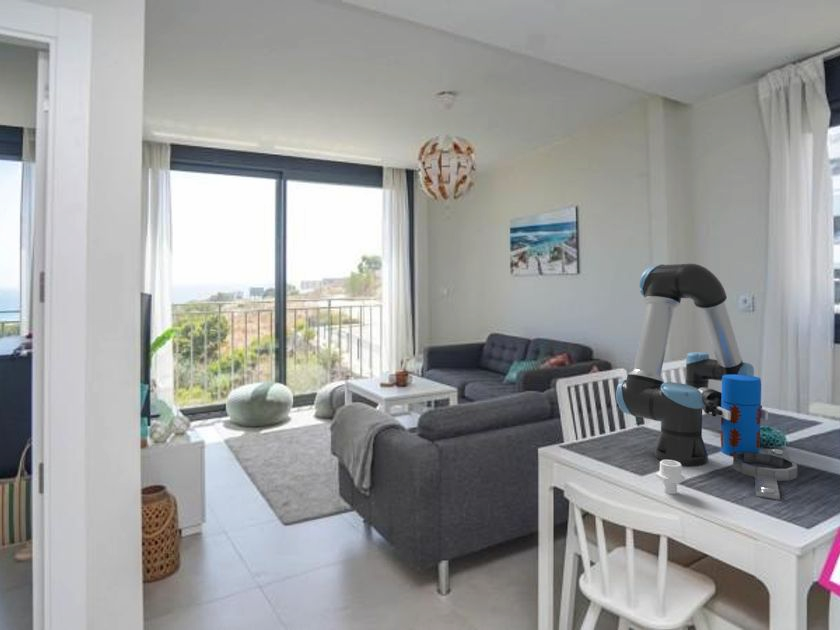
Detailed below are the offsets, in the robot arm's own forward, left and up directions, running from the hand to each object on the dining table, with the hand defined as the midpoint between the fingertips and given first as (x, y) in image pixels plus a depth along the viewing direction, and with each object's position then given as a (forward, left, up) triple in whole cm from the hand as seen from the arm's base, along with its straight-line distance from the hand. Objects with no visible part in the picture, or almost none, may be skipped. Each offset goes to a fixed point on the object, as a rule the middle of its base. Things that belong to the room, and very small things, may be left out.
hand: (748, 415), depth 160 cm
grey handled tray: (+4, -12, -14) cm, 18 cm away
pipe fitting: (-18, -41, -14) cm, 46 cm away
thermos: (-2, +3, -14) cm, 14 cm away
